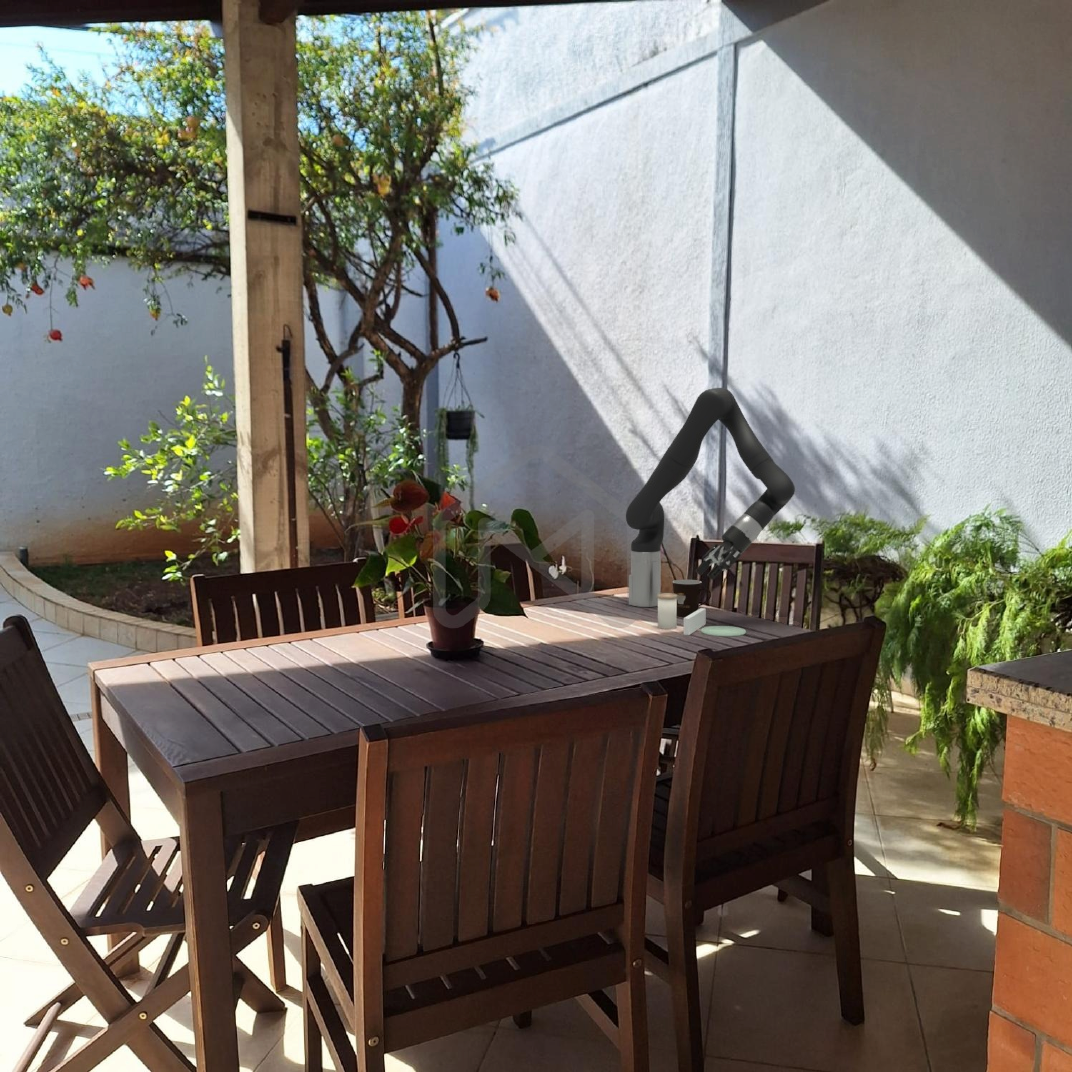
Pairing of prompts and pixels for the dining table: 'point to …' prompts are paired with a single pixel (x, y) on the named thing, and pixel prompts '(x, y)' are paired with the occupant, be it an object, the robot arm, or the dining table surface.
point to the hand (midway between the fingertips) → (703, 575)
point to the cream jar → (667, 610)
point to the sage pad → (723, 631)
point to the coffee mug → (688, 596)
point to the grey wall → (694, 621)
